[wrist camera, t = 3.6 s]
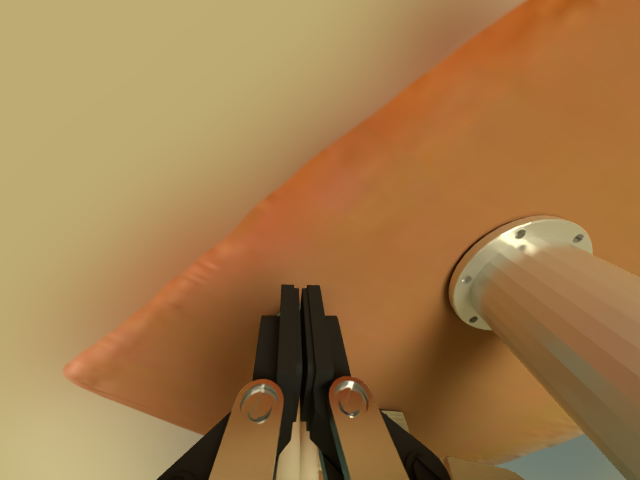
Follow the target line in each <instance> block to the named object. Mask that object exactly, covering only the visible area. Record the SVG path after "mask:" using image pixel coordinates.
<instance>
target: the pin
mask: <svg viewBox="0 0 640 480" xmlns="http://www.w3.org/2000/svg"><path fill="white" fill-rule="evenodd" d="M300 480H319V474H318V456H317V446H316V445H315V444H314V443H313V442H312V441H311V440H310V435H309V431H306V421H304V422H301V423H300Z"/></svg>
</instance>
